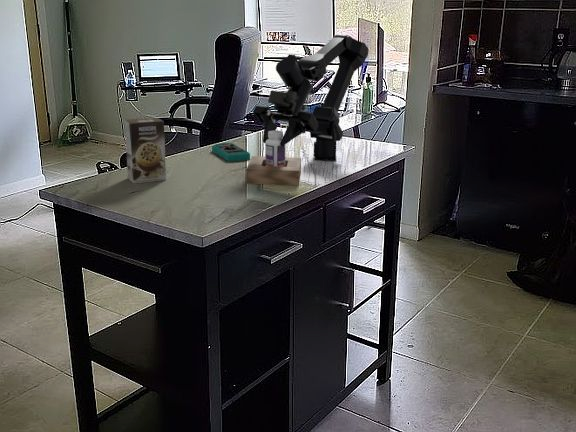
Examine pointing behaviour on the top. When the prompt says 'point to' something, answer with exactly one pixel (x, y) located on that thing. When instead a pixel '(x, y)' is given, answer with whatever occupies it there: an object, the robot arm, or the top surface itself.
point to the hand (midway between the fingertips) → (272, 144)
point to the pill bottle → (275, 149)
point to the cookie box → (145, 150)
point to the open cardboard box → (273, 172)
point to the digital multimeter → (230, 152)
